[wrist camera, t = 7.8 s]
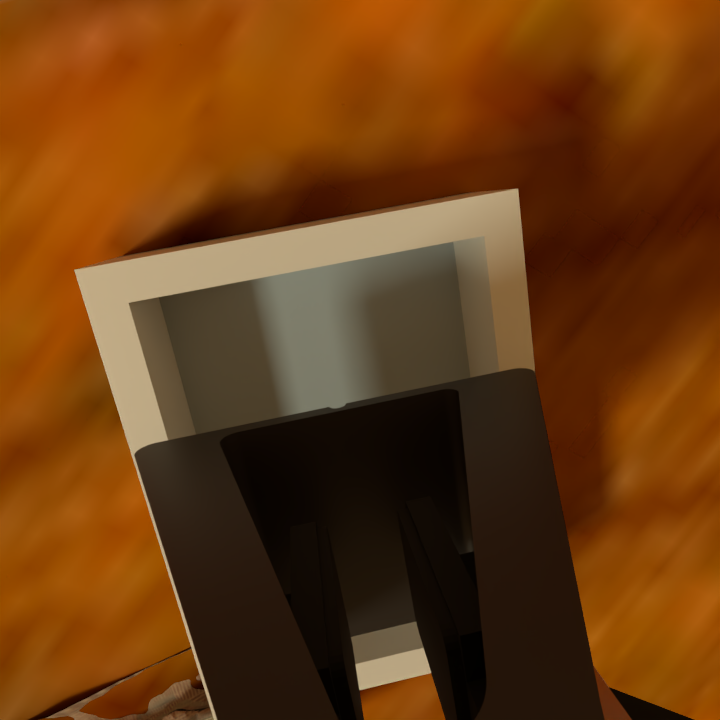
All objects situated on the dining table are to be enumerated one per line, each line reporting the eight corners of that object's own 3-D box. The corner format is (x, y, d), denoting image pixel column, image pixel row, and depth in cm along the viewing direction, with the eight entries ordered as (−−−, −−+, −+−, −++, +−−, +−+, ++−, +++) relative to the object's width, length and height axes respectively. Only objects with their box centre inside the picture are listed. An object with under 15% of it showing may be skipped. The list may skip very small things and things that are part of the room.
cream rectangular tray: (469, 192, 18) (517, 188, 14) (512, 566, 22) (560, 641, 18) (121, 256, 17) (74, 269, 14) (228, 631, 21) (215, 725, 17)
